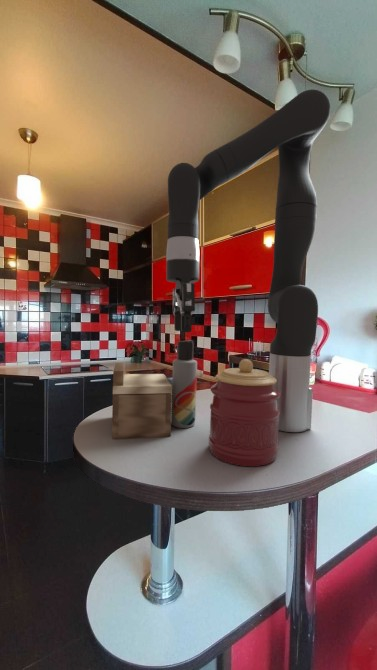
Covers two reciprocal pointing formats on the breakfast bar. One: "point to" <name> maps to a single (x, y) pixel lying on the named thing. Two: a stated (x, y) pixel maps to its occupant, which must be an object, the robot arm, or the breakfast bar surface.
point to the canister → (244, 416)
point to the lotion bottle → (184, 386)
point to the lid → (139, 382)
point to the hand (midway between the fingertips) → (182, 331)
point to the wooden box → (141, 415)
